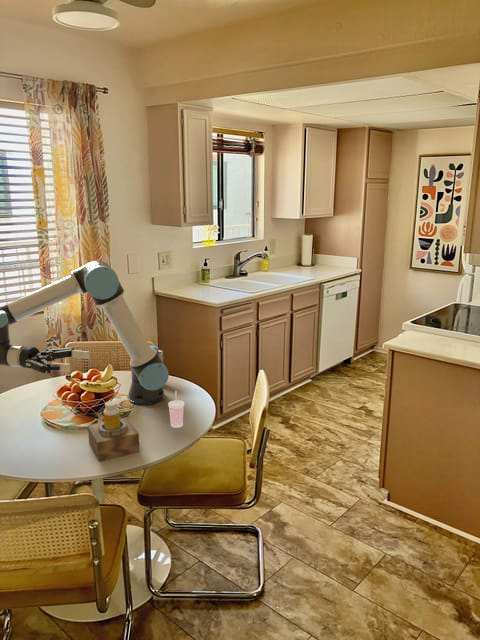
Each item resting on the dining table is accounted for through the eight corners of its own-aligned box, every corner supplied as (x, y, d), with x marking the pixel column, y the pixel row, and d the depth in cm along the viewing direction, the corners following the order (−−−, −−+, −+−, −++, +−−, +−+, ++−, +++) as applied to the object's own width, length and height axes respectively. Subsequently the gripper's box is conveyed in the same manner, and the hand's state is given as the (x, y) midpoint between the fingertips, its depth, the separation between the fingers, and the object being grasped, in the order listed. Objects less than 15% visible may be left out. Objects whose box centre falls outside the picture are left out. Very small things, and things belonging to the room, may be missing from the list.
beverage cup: (168, 422, 200) (167, 388, 196) (184, 420, 201) (183, 387, 197) (169, 429, 194) (168, 394, 190) (185, 427, 195) (184, 393, 192)
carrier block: (127, 434, 190) (126, 413, 187) (139, 451, 178) (138, 429, 175) (89, 443, 183) (87, 421, 181) (98, 461, 171) (97, 438, 169)
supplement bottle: (116, 433, 176) (115, 407, 173) (101, 431, 177) (100, 405, 174) (123, 426, 181) (121, 400, 178) (108, 424, 182) (107, 399, 179)
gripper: (45, 355, 194) (97, 359, 190) (3, 379, 171) (61, 384, 167) (43, 336, 192) (95, 340, 188) (0, 358, 169) (59, 363, 165)
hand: (79, 361), depth 177 cm, fingers open, 13 cm apart
